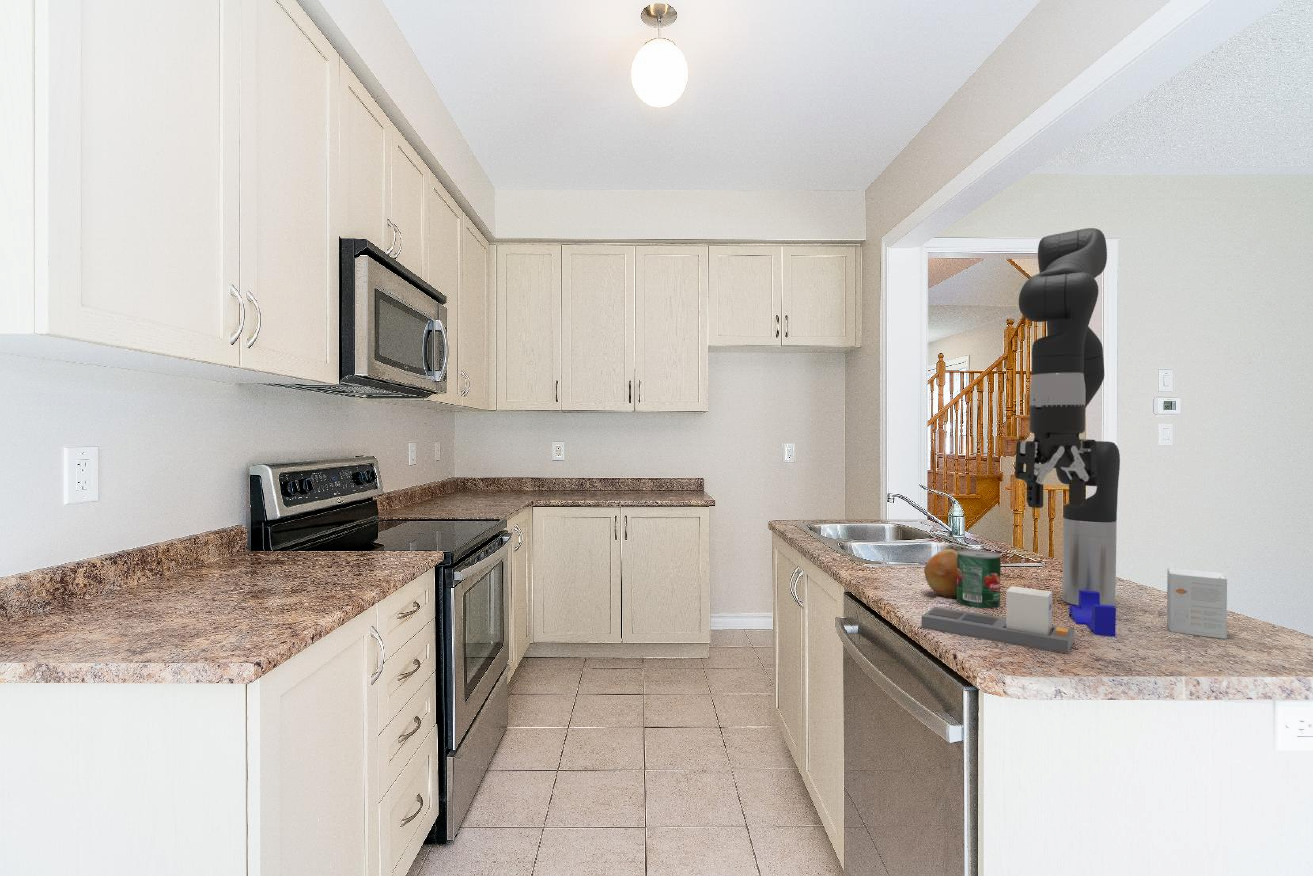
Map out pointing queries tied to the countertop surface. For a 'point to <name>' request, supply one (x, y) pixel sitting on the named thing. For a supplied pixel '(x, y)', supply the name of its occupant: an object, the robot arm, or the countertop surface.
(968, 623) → the power strip
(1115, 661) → the countertop surface
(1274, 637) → the countertop surface
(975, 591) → the canned tomato
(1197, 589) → the small box
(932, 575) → the onion
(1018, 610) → the block
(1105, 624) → the cable clip
